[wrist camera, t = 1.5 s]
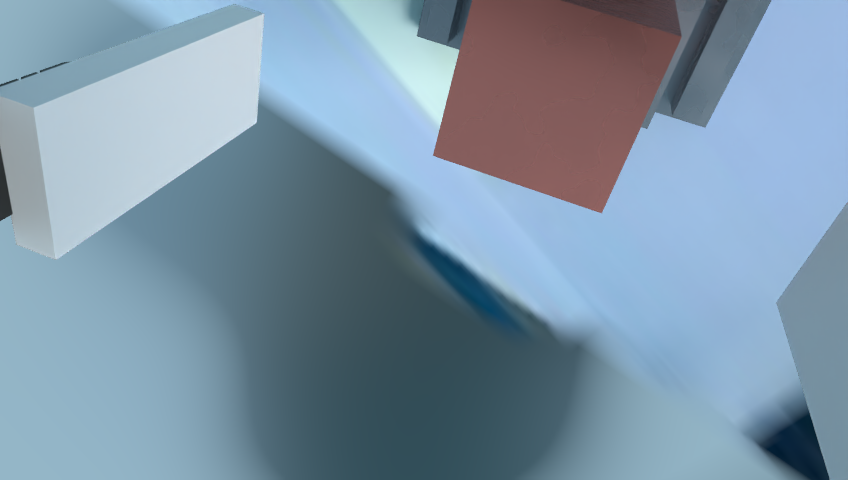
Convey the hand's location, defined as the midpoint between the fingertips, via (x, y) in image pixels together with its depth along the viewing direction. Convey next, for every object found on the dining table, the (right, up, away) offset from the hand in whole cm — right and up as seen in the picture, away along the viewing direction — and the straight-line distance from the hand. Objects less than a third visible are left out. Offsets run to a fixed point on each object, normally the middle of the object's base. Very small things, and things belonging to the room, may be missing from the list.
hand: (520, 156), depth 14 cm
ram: (+4, +8, +10) cm, 14 cm away
